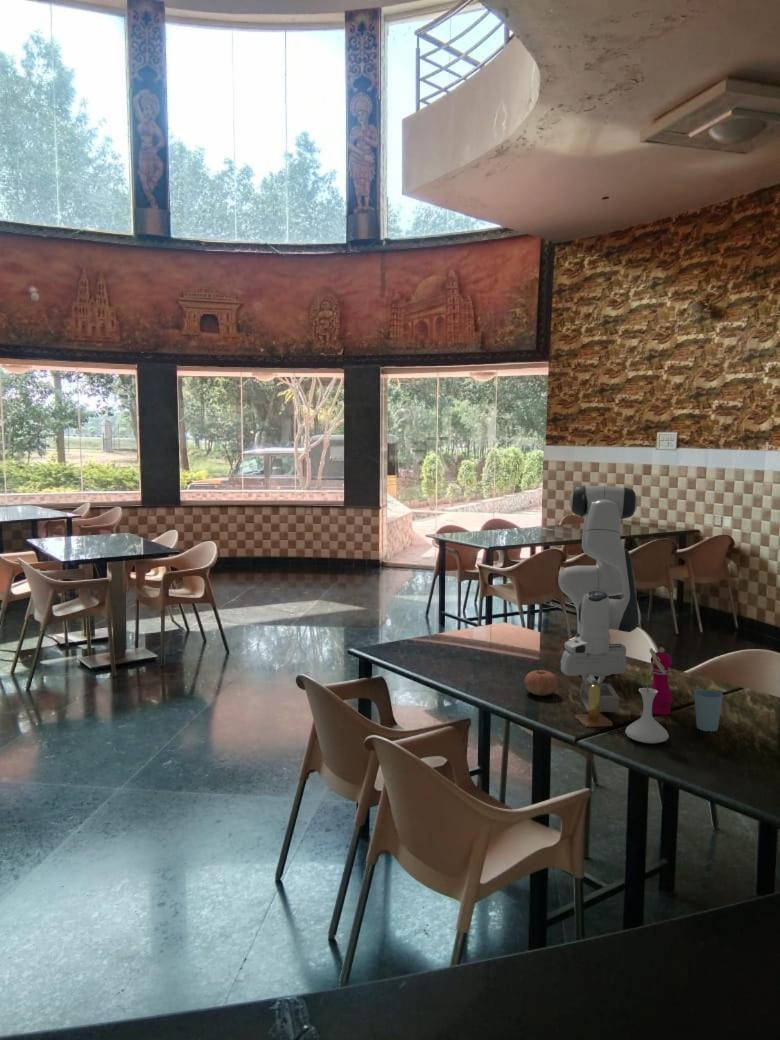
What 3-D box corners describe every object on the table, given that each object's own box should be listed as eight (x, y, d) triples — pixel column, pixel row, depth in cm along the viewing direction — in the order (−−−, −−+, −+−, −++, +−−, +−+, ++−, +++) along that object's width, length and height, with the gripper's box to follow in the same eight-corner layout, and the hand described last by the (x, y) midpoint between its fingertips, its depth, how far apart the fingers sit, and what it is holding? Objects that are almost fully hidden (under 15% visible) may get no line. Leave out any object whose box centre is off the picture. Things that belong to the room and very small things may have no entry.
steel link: (572, 683, 242) (574, 671, 241) (600, 683, 242) (602, 671, 241) (588, 711, 226) (589, 698, 224) (618, 711, 226) (619, 698, 225)
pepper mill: (656, 716, 228) (658, 650, 226) (642, 708, 235) (644, 645, 233) (677, 714, 230) (679, 649, 228) (662, 706, 237) (664, 643, 235)
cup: (688, 723, 222) (690, 688, 221) (715, 724, 221) (717, 689, 220) (697, 732, 214) (699, 696, 213) (725, 733, 213) (727, 697, 213)
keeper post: (575, 717, 226) (576, 681, 225) (600, 716, 227) (601, 680, 226) (586, 727, 218) (587, 689, 217) (612, 725, 219) (613, 688, 219)
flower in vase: (664, 750, 201) (667, 657, 199) (620, 742, 206) (623, 652, 204) (672, 735, 212) (675, 647, 210) (631, 727, 218) (633, 642, 216)
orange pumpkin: (561, 699, 244) (562, 674, 244) (528, 699, 244) (528, 675, 243) (552, 689, 255) (553, 665, 254) (520, 689, 254) (521, 666, 254)
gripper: (621, 640, 239) (620, 683, 240) (559, 642, 236) (558, 685, 237) (630, 646, 233) (629, 689, 234) (567, 648, 230) (565, 692, 231)
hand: (593, 687), depth 236 cm, fingers closed on steel link, 2 cm apart
